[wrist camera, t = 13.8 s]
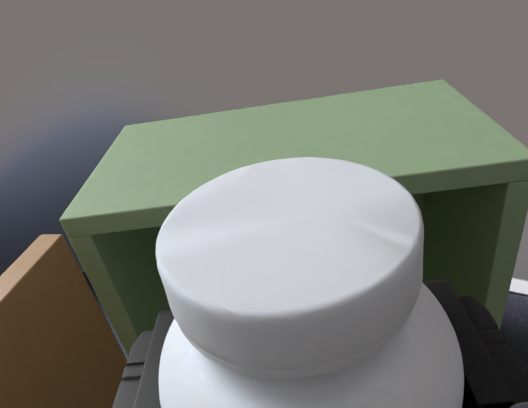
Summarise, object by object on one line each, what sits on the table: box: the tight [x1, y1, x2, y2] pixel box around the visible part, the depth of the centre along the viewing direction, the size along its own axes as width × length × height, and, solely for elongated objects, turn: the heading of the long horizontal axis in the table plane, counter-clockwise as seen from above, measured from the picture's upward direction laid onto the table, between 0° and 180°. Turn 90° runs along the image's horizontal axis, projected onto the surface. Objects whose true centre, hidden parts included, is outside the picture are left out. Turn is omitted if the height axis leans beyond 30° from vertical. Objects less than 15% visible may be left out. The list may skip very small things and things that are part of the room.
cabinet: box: [60, 80, 528, 356], centre depth 25 cm, size 10×19×18 cm, turn 90°
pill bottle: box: [156, 157, 464, 408], centre depth 10 cm, size 6×6×12 cm
